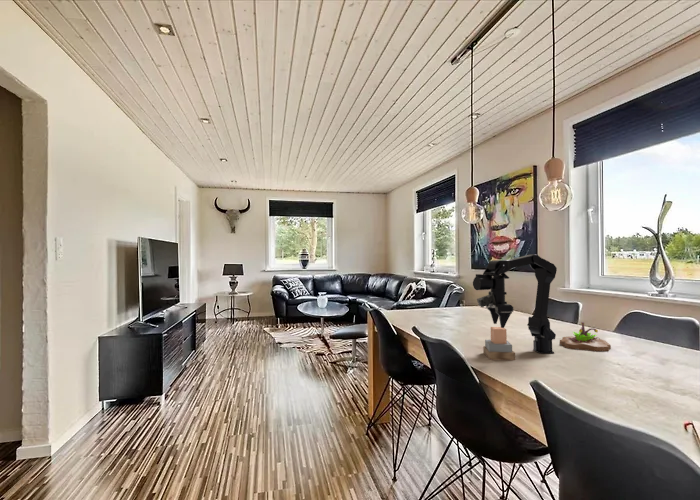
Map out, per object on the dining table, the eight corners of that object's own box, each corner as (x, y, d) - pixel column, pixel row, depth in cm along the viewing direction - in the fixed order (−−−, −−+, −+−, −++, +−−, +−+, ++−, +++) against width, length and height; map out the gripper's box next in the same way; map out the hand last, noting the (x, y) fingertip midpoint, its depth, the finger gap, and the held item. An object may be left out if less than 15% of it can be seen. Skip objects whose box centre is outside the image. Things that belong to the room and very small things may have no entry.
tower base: (506, 354, 156) (506, 346, 156) (515, 361, 146) (515, 352, 146) (483, 354, 157) (483, 346, 157) (490, 360, 147) (490, 352, 147)
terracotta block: (502, 340, 154) (502, 327, 154) (506, 343, 149) (506, 329, 149) (490, 340, 154) (490, 326, 154) (494, 343, 149) (494, 329, 149)
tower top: (506, 346, 155) (506, 340, 155) (512, 352, 146) (512, 345, 146) (485, 346, 157) (485, 339, 157) (489, 351, 148) (489, 344, 148)
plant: (608, 344, 171) (607, 320, 171) (612, 353, 154) (611, 327, 154) (560, 339, 181) (559, 317, 181) (559, 348, 164) (558, 323, 165)
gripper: (472, 287, 162) (473, 322, 162) (485, 291, 144) (486, 330, 143) (497, 287, 162) (498, 321, 161) (513, 291, 143) (514, 330, 143)
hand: (498, 325), depth 152 cm, fingers open, 9 cm apart
